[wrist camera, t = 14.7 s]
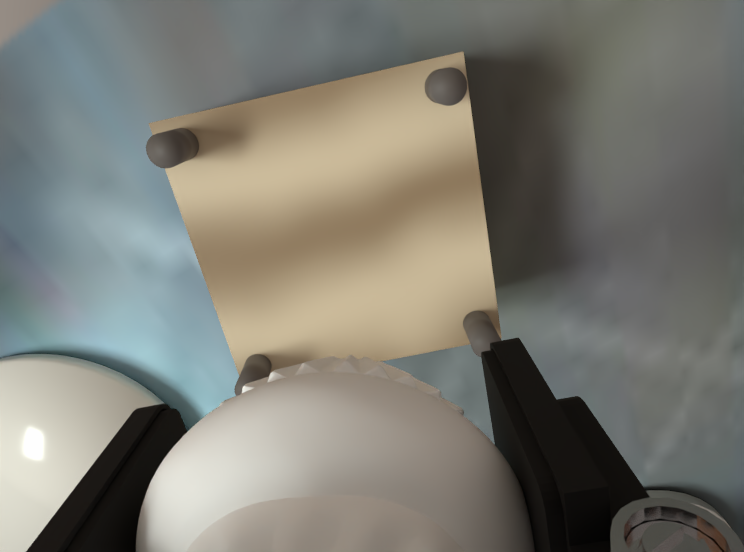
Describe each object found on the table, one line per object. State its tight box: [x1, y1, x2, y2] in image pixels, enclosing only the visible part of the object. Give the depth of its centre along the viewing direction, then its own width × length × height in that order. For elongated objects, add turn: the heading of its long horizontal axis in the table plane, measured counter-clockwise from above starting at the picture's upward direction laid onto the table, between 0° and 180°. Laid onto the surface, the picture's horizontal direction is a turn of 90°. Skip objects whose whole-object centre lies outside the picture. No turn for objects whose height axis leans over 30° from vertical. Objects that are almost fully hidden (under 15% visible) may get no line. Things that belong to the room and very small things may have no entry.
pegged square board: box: [146, 51, 501, 396], centre depth 22 cm, size 12×12×7 cm
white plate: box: [0, 354, 188, 552], centre depth 30 cm, size 16×16×1 cm
